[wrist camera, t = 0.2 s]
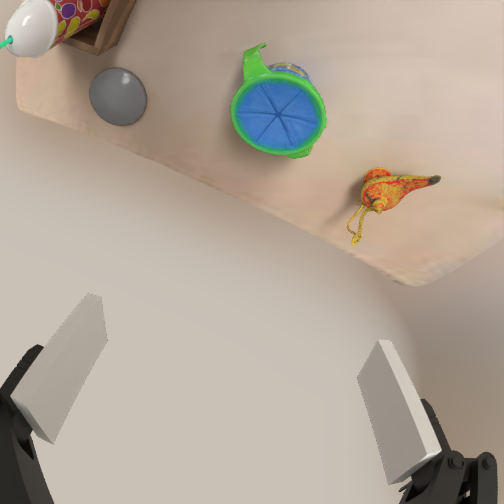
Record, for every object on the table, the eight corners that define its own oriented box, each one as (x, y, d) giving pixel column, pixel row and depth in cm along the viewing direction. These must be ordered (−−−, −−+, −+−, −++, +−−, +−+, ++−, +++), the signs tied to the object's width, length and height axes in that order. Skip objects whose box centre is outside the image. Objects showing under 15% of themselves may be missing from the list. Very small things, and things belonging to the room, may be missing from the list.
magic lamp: (437, 163, 38) (456, 212, 32) (356, 208, 51) (359, 257, 45) (418, 135, 36) (439, 182, 29) (333, 187, 48) (334, 236, 42)
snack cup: (228, 47, 31) (204, 71, 25) (305, 26, 27) (303, 42, 21) (267, 136, 42) (257, 177, 37) (334, 124, 38) (338, 166, 33)
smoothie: (71, 14, 25) (-29, 71, 14) (91, -30, 19) (-21, 10, 8) (107, 31, 28) (9, 93, 17) (132, -13, 23) (21, 27, 11)
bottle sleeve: (61, 24, 26) (40, 35, 23) (84, -40, 17) (61, -36, 14) (116, 44, 31) (98, 55, 28) (148, -25, 21) (129, -22, 19)
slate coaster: (82, 84, 36) (79, 87, 36) (127, 57, 32) (124, 59, 32) (112, 130, 45) (109, 133, 44) (158, 111, 41) (155, 113, 40)
